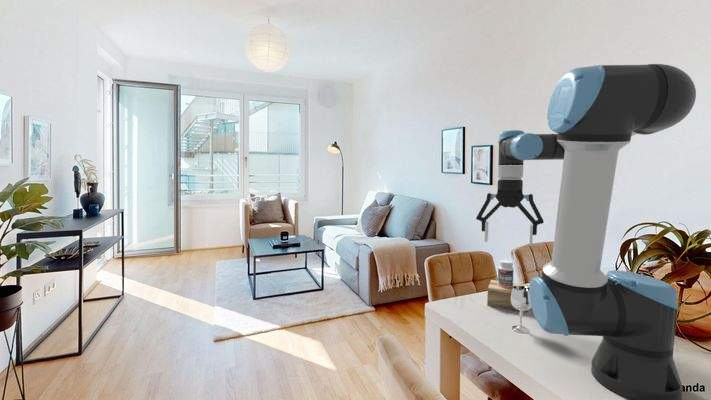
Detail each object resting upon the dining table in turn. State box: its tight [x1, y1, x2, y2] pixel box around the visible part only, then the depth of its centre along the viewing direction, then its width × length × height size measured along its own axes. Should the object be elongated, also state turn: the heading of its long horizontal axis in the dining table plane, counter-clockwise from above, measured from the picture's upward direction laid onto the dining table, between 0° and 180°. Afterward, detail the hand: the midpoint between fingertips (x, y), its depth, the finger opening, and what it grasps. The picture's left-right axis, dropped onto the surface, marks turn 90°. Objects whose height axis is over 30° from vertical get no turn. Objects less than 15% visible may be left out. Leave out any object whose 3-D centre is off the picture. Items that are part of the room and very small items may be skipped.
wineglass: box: [511, 286, 532, 334], centre depth 99 cm, size 6×6×12 cm
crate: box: [486, 289, 528, 313], centre depth 118 cm, size 10×12×5 cm
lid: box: [487, 279, 530, 293], centre depth 118 cm, size 10×12×1 cm
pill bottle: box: [497, 259, 515, 288], centre depth 118 cm, size 5×5×8 cm
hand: (507, 242), depth 116 cm, fingers open, 13 cm apart
